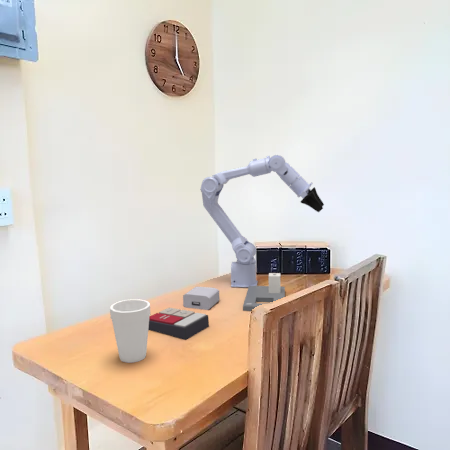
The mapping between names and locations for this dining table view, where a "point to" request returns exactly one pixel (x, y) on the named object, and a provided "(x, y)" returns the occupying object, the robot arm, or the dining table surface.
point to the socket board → (260, 296)
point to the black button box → (178, 323)
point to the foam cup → (131, 328)
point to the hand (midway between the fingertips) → (321, 208)
